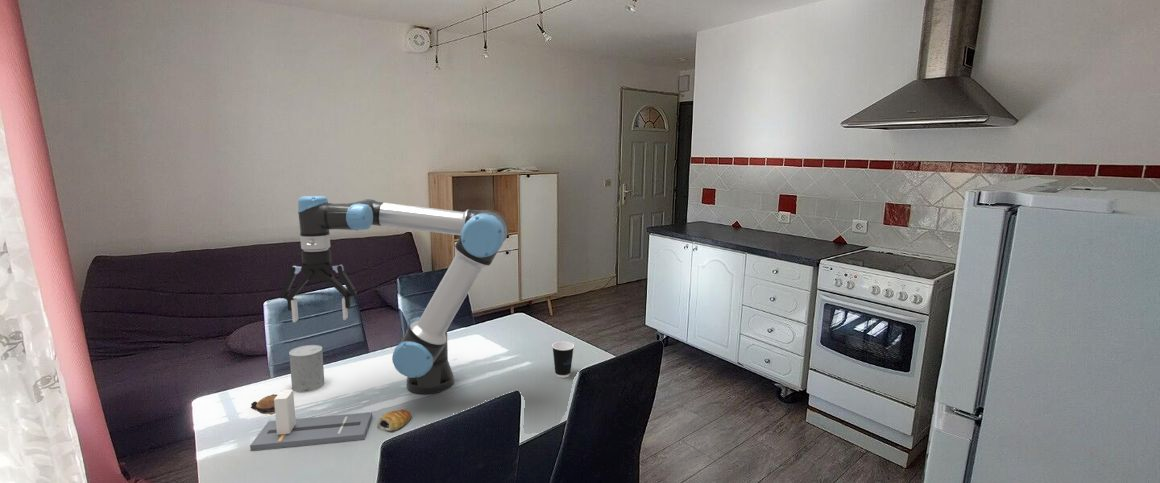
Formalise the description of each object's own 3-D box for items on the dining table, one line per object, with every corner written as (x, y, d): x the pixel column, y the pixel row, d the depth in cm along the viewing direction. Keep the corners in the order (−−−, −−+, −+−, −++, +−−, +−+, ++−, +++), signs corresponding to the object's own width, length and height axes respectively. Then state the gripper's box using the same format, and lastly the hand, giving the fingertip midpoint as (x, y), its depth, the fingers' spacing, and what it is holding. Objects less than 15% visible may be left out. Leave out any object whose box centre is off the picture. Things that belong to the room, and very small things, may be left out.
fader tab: (295, 423, 135) (293, 389, 133) (289, 433, 130) (286, 398, 128) (283, 424, 134) (280, 390, 133) (277, 434, 129) (273, 399, 128)
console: (372, 416, 143) (371, 411, 142) (363, 439, 131) (363, 433, 131) (268, 426, 137) (268, 420, 136) (250, 450, 125) (250, 445, 125)
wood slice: (296, 405, 150) (295, 394, 149) (269, 417, 142) (268, 406, 142) (274, 397, 154) (273, 386, 154) (246, 409, 147) (245, 397, 146)
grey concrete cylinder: (310, 393, 156) (307, 357, 154) (284, 390, 158) (281, 354, 156) (331, 381, 165) (329, 346, 163) (306, 378, 167) (304, 343, 165)
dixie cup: (554, 369, 178) (555, 340, 176) (576, 371, 176) (576, 342, 175) (548, 378, 170) (549, 348, 169) (571, 380, 169) (571, 350, 167)
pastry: (399, 413, 145) (399, 401, 145) (417, 418, 143) (417, 406, 142) (374, 428, 137) (374, 416, 136) (392, 434, 134) (392, 421, 134)
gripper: (262, 252, 136) (269, 326, 139) (359, 250, 141) (363, 321, 145) (273, 248, 143) (278, 317, 147) (364, 246, 149) (368, 313, 152)
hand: (320, 319), depth 146 cm, fingers open, 13 cm apart
